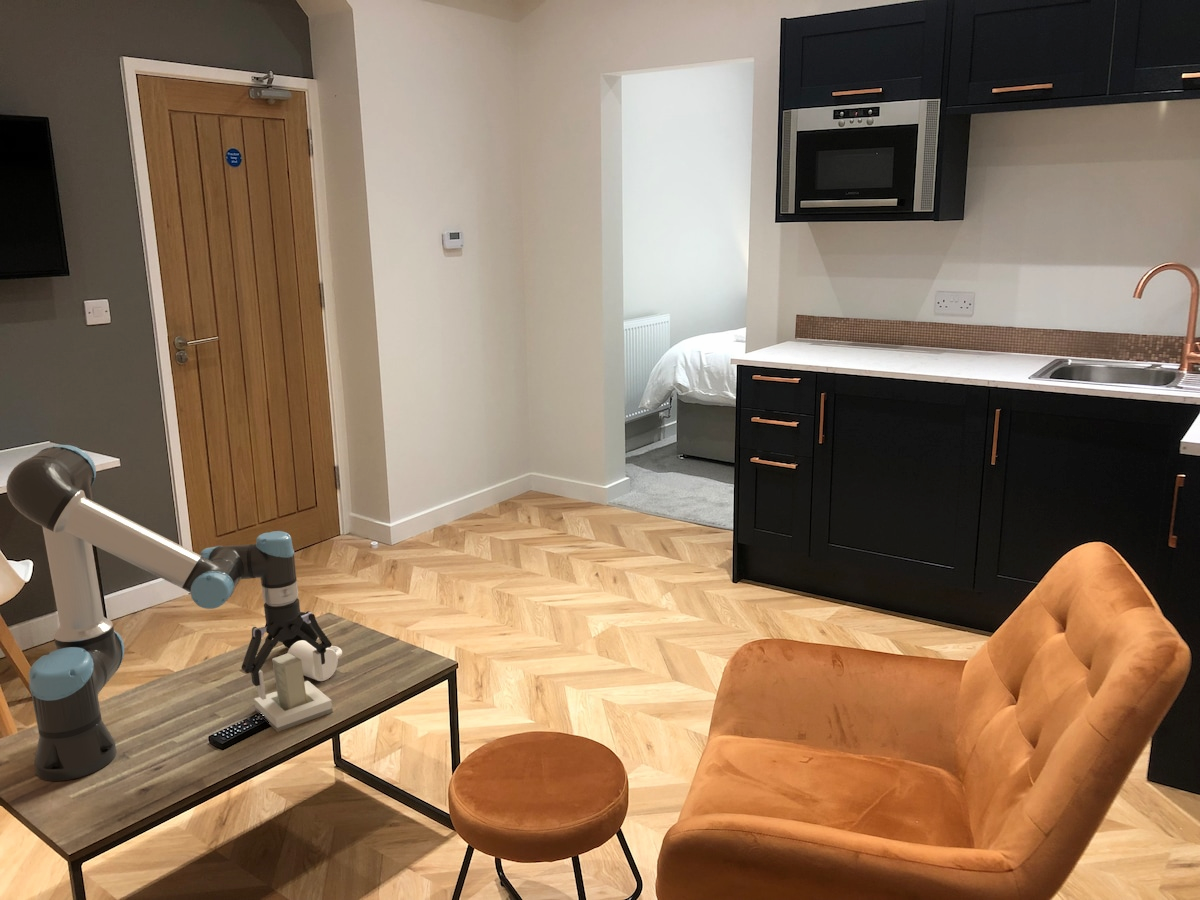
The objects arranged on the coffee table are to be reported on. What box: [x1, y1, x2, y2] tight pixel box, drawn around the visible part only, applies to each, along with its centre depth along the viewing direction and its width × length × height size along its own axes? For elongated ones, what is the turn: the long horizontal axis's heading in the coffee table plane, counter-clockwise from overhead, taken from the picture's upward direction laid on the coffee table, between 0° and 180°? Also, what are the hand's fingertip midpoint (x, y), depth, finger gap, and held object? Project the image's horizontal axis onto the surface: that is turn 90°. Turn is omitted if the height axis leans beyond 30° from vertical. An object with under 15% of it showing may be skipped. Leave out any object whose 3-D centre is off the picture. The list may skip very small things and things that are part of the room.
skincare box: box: [271, 653, 307, 711], centre depth 222 cm, size 6×4×12 cm
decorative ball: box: [281, 611, 319, 649], centre depth 255 cm, size 10×10×10 cm
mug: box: [287, 640, 343, 682], centre depth 242 cm, size 12×10×8 cm
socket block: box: [253, 680, 334, 733], centre depth 223 cm, size 13×13×3 cm
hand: (291, 687), depth 222 cm, fingers open, 13 cm apart
